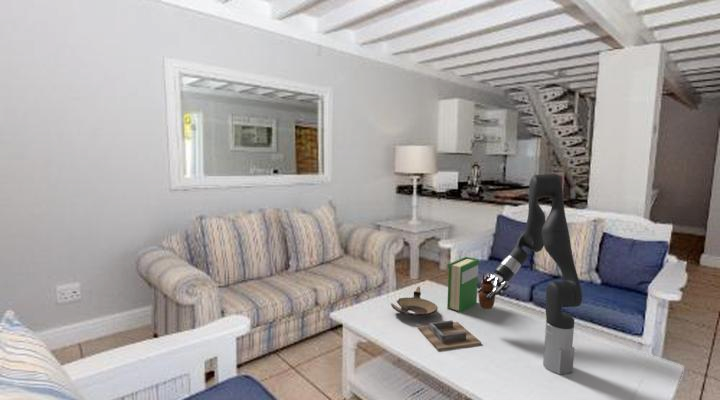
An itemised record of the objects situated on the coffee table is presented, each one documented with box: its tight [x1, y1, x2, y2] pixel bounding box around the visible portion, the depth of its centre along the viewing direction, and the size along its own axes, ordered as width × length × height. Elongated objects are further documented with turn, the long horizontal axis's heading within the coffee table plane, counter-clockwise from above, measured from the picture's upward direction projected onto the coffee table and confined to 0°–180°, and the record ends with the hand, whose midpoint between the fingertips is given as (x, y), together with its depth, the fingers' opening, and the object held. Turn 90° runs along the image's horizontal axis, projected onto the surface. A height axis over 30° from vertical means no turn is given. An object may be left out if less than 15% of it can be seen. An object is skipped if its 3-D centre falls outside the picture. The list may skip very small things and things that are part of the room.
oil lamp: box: [390, 286, 438, 318], centre depth 193 cm, size 22×30×8 cm
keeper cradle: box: [417, 319, 482, 352], centre depth 168 cm, size 20×20×4 cm
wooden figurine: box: [478, 274, 496, 310], centre depth 170 cm, size 7×6×15 cm
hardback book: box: [446, 256, 480, 314], centre depth 199 cm, size 18×7×24 cm, turn 137°
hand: (483, 296), depth 170 cm, fingers closed on wooden figurine, 6 cm apart
